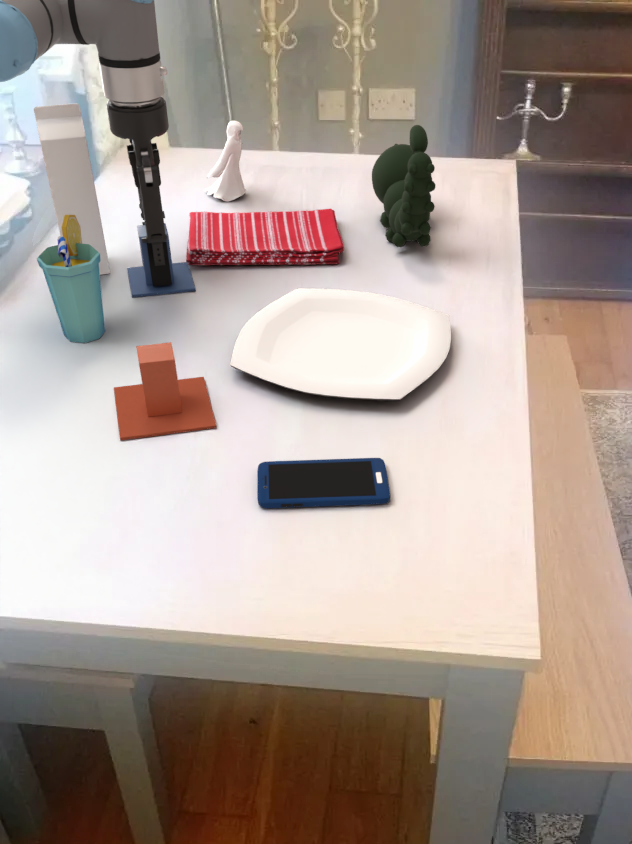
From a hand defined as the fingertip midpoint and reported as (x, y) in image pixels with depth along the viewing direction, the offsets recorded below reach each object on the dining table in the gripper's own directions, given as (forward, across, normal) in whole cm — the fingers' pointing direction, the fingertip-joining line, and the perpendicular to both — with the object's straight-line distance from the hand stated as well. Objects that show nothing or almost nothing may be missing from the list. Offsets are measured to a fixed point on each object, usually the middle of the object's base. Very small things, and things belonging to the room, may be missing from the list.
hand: (160, 275), depth 130 cm
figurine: (+1, +30, -14) cm, 33 cm away
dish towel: (+1, +9, -17) cm, 19 cm away
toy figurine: (+1, +9, -40) cm, 40 cm away
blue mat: (+1, 0, 0) cm, 1 cm away
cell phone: (+1, -53, -12) cm, 54 cm away
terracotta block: (0, -34, +3) cm, 34 cm away
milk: (+1, +7, +10) cm, 12 cm away
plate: (+1, -26, -21) cm, 33 cm away
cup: (+1, -14, +12) cm, 18 cm away
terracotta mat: (+1, -34, +3) cm, 34 cm away
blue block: (0, 0, 0) cm, 0 cm away
